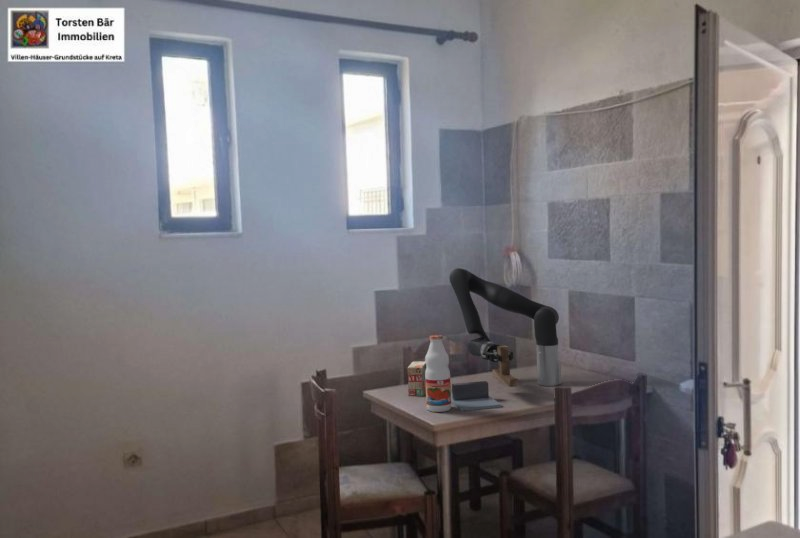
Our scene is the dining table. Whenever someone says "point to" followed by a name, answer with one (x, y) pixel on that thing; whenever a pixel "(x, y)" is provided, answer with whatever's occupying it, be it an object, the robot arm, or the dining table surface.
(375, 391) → the dining table surface
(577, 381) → the dining table surface
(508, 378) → the walnut beam
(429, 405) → the fruit juice
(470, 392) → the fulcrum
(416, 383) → the cardboard food box
